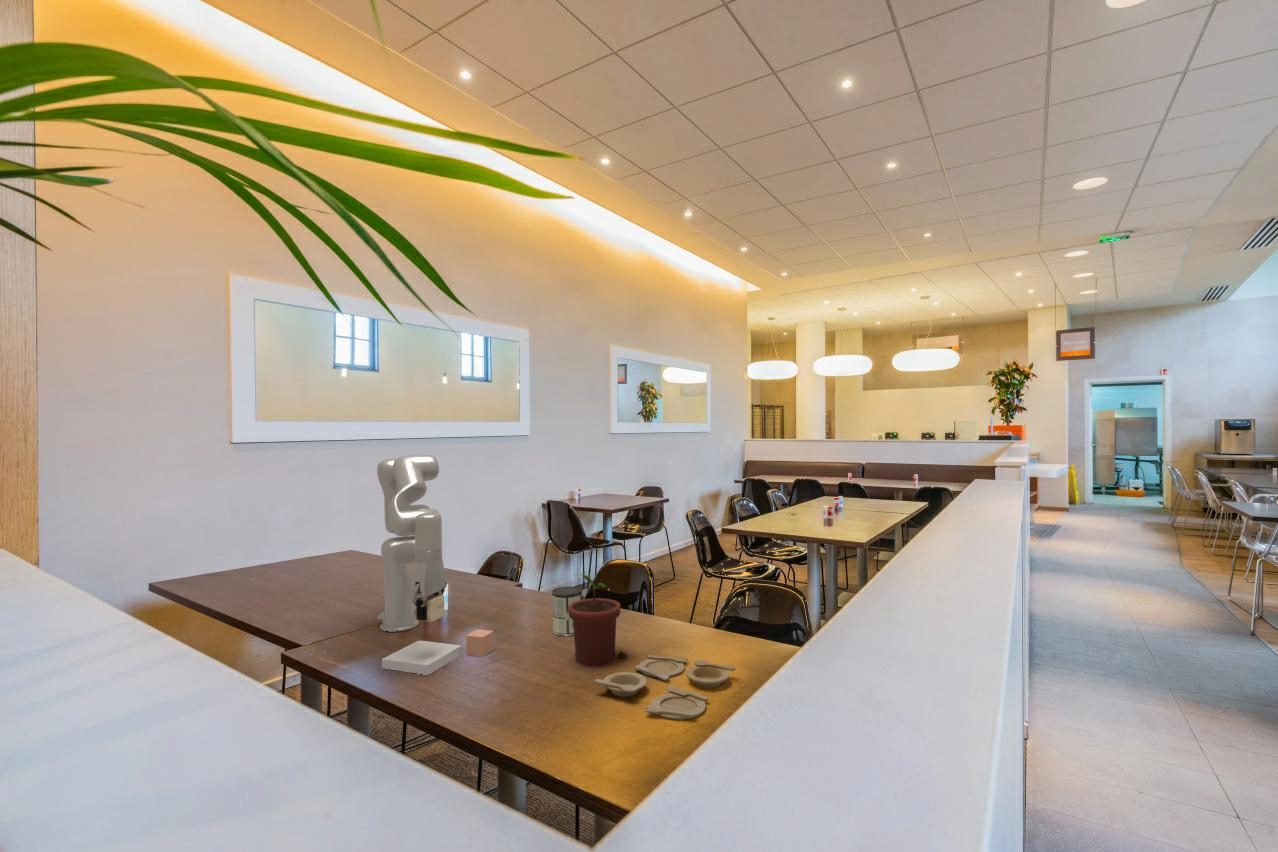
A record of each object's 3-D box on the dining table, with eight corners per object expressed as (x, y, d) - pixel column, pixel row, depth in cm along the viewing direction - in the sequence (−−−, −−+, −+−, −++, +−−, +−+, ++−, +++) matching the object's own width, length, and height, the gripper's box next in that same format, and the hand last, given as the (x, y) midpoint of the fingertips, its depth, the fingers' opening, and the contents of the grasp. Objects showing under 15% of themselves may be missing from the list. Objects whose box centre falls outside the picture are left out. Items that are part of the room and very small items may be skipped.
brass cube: (414, 620, 176) (413, 599, 176) (427, 613, 181) (427, 593, 181) (431, 622, 174) (431, 601, 174) (444, 615, 179) (444, 595, 179)
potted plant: (553, 661, 179) (552, 577, 180) (597, 639, 198) (596, 562, 198) (601, 673, 170) (600, 584, 170) (642, 649, 188) (641, 569, 188)
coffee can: (562, 625, 212) (562, 585, 213) (588, 628, 208) (587, 587, 208) (546, 634, 203) (545, 592, 203) (572, 638, 199) (572, 595, 199)
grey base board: (381, 669, 175) (381, 659, 175) (418, 649, 191) (418, 640, 191) (427, 675, 170) (427, 665, 170) (461, 655, 185) (461, 645, 185)
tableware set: (687, 731, 138) (686, 713, 138) (584, 702, 153) (584, 686, 153) (745, 676, 167) (745, 661, 168) (654, 656, 183) (654, 643, 183)
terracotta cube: (466, 654, 186) (466, 635, 186) (477, 648, 192) (477, 629, 192) (483, 656, 184) (482, 637, 184) (494, 650, 190) (493, 630, 190)
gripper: (436, 548, 187) (437, 606, 187) (397, 560, 170) (398, 624, 171) (457, 549, 184) (457, 608, 185) (419, 562, 168) (420, 627, 168)
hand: (429, 615), depth 178 cm, fingers closed on brass cube, 6 cm apart
